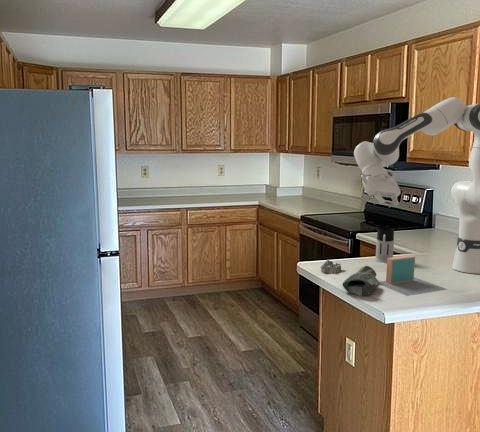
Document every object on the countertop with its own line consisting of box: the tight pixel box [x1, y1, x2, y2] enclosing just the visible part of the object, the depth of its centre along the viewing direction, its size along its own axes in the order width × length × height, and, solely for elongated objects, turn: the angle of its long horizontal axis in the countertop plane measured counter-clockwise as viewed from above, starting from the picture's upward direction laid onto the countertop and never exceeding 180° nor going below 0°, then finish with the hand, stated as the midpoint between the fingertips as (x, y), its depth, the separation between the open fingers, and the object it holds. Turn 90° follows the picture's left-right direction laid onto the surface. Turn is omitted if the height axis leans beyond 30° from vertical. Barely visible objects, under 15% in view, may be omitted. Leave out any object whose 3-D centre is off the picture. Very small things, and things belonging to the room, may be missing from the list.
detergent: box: [342, 265, 379, 297], centre depth 197 cm, size 13×7×25 cm
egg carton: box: [320, 259, 342, 275], centre depth 220 cm, size 10×7×4 cm
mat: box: [378, 276, 448, 297], centre depth 198 cm, size 20×18×1 cm
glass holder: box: [374, 227, 395, 264], centre depth 236 cm, size 9×14×15 cm, turn 160°
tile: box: [385, 254, 416, 284], centre depth 202 cm, size 12×3×10 cm, turn 114°
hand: (389, 203), depth 207 cm, fingers open, 8 cm apart
